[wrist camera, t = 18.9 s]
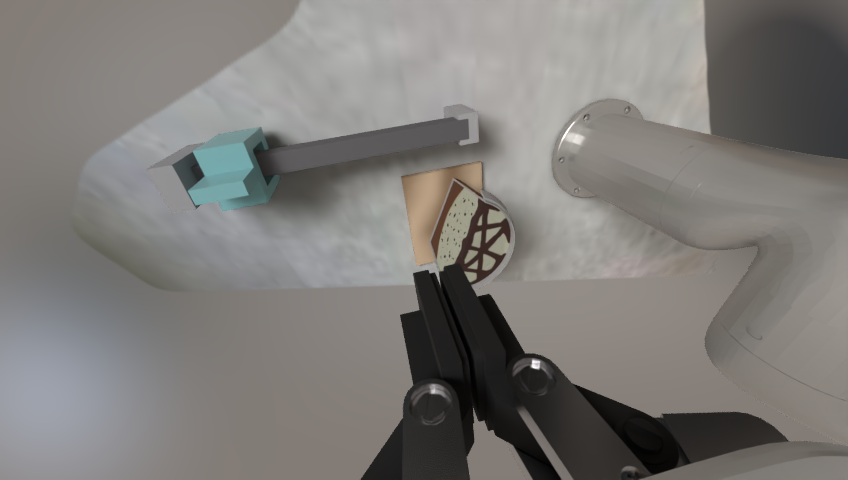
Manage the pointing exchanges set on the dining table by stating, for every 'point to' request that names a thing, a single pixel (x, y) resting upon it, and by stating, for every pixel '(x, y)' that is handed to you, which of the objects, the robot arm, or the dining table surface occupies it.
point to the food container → (473, 234)
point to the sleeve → (233, 171)
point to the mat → (433, 201)
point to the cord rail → (318, 153)
